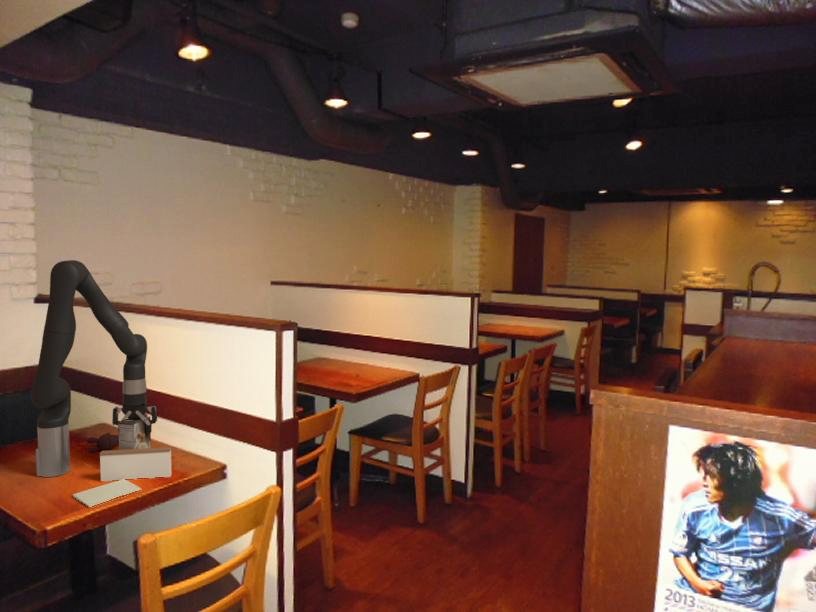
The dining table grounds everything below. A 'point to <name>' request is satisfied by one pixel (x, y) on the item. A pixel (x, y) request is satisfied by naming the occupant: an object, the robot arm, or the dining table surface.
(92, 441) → the icecream
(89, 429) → the dining table surface
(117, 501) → the dining table surface
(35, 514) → the dining table surface
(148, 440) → the coffee box
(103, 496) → the mat
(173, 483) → the dining table surface
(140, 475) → the flat box
